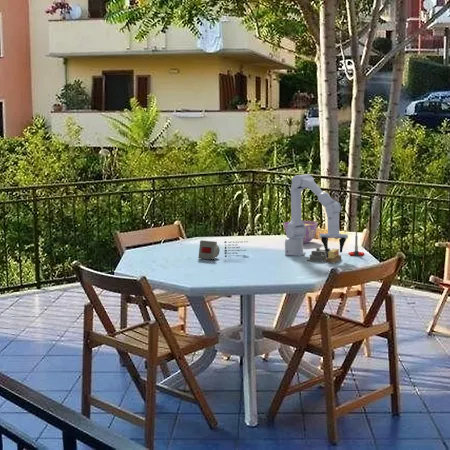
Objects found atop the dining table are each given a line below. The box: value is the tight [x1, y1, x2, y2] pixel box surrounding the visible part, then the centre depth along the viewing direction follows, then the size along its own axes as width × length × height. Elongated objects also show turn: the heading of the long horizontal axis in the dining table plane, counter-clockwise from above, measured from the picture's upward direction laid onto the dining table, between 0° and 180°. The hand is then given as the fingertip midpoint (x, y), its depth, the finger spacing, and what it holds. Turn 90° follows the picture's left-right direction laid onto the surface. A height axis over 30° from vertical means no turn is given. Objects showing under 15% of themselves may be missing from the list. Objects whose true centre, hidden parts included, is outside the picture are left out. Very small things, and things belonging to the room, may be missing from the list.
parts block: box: [325, 254, 342, 264], centre depth 411 cm, size 5×11×2 cm, turn 157°
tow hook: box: [347, 231, 365, 257], centre depth 426 cm, size 8×13×9 cm
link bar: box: [328, 248, 340, 259], centre depth 410 cm, size 3×9×4 cm, turn 157°
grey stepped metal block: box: [306, 247, 331, 263], centre depth 417 cm, size 10×17×5 cm, turn 157°
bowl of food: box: [283, 220, 318, 245], centre depth 467 cm, size 20×20×12 cm
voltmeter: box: [198, 239, 249, 261], centre depth 425 cm, size 27×11×10 cm, turn 91°
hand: (333, 251), depth 410 cm, fingers open, 7 cm apart
